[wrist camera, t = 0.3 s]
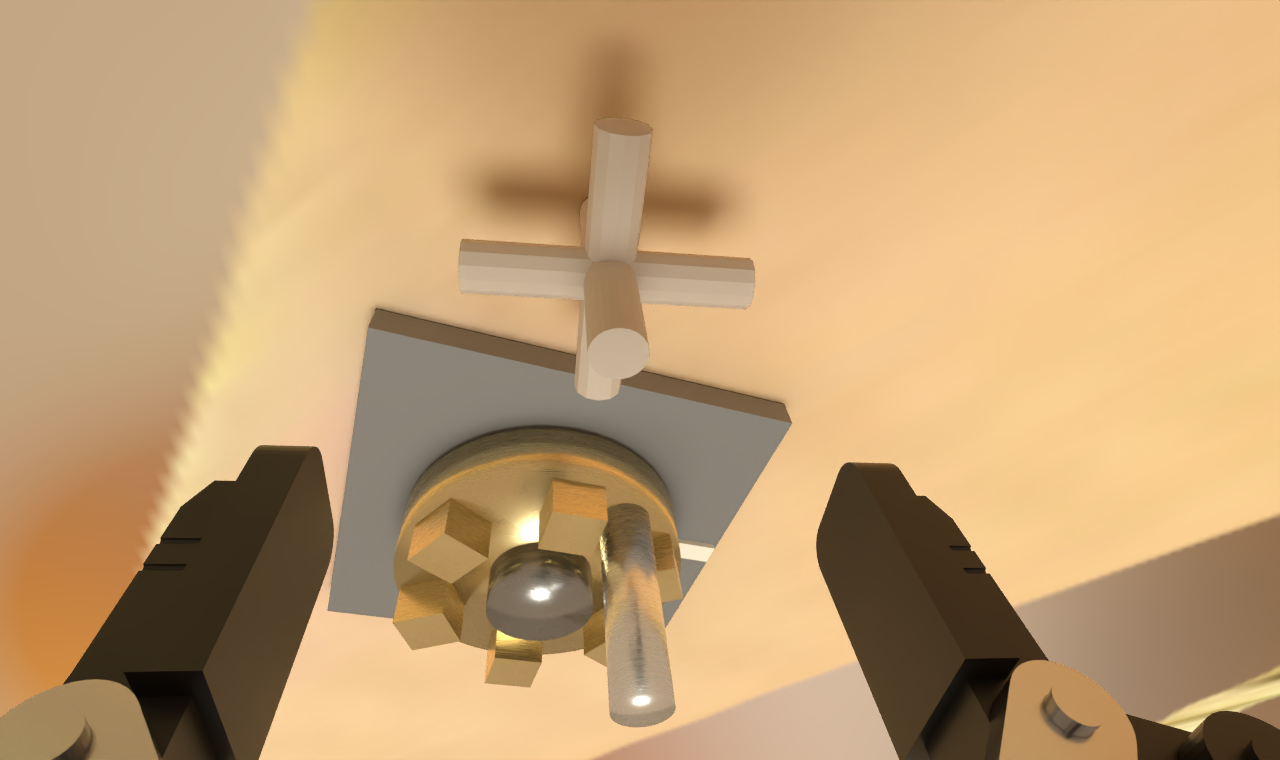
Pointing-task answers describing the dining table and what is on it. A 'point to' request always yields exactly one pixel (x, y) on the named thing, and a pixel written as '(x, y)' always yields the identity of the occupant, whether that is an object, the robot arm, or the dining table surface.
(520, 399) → the base plate
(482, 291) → the pipe connector
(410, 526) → the brass lugged hub
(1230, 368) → the dining table surface
